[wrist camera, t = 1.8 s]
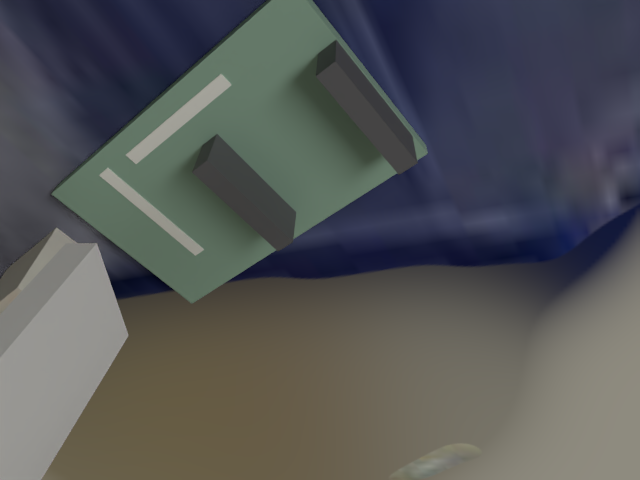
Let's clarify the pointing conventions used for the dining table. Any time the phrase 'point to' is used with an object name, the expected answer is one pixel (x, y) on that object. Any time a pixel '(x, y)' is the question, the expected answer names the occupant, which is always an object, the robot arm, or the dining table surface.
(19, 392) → the robot arm
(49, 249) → the plug
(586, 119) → the dining table surface
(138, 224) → the board
